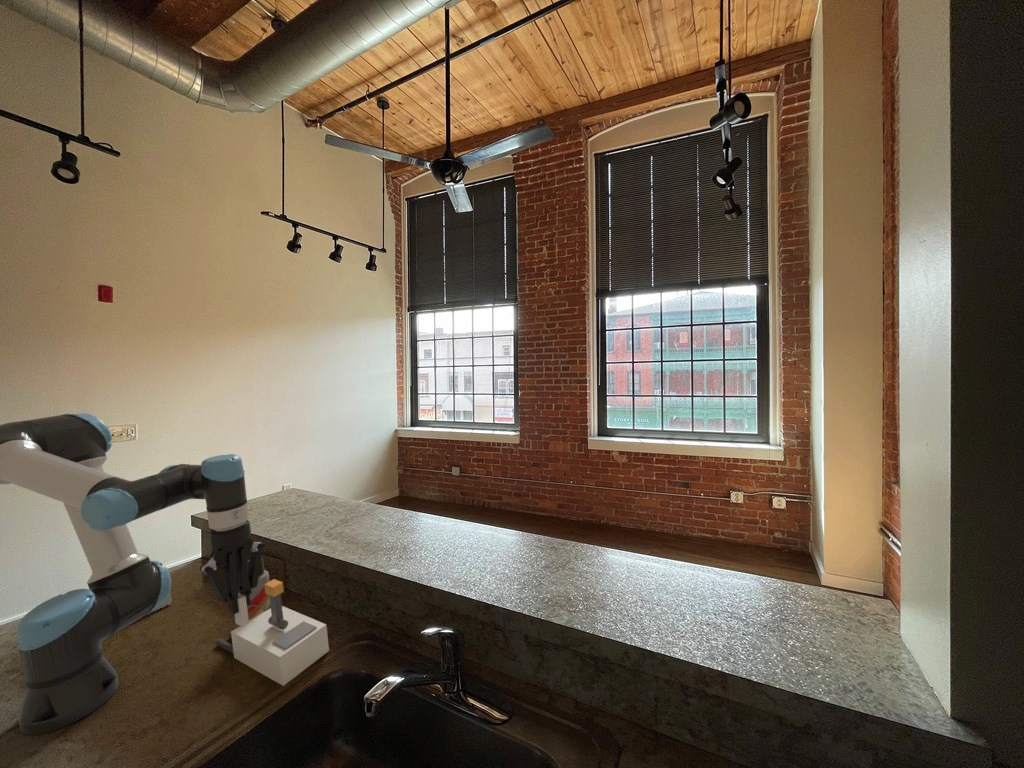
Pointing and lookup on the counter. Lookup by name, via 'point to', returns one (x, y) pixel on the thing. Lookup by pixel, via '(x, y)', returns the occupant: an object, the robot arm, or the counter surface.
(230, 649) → the parallel rod pair
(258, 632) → the block
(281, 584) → the lever
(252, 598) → the lotion bottle
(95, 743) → the counter surface
